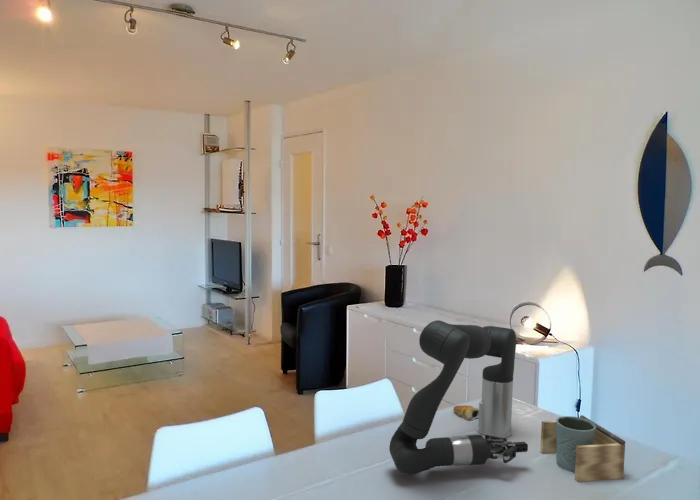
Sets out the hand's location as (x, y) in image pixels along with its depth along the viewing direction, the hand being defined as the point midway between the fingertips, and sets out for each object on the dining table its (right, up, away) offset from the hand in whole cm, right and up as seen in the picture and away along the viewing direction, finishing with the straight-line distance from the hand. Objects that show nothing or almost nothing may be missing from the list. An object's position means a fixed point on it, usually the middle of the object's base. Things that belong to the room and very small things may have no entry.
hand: (526, 446), depth 152 cm
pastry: (-8, -4, +39) cm, 40 cm away
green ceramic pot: (+14, -6, +3) cm, 15 cm away
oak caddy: (+15, -6, +3) cm, 17 cm away
